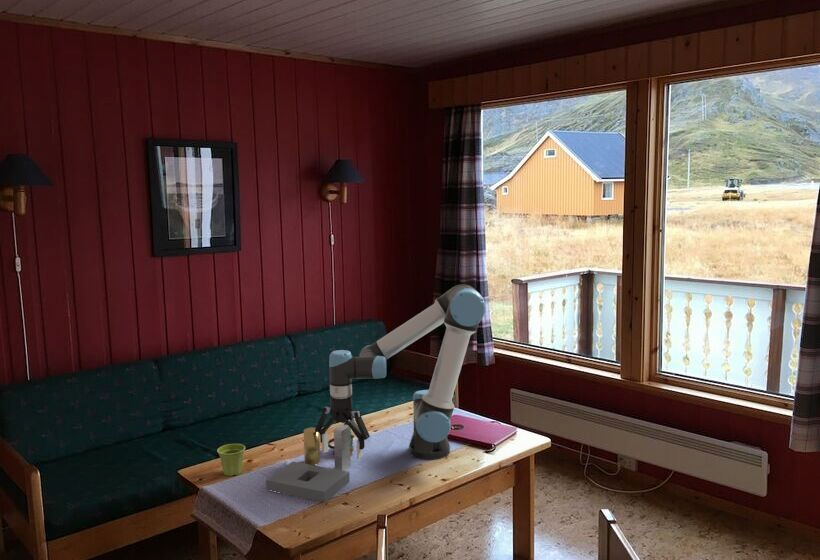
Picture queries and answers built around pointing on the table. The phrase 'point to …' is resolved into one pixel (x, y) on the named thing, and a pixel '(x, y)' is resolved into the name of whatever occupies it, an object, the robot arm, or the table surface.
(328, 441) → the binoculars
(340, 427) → the aluminium bar
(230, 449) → the plant pot
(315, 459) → the brass peg
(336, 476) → the slot plate
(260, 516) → the table surface
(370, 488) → the table surface
